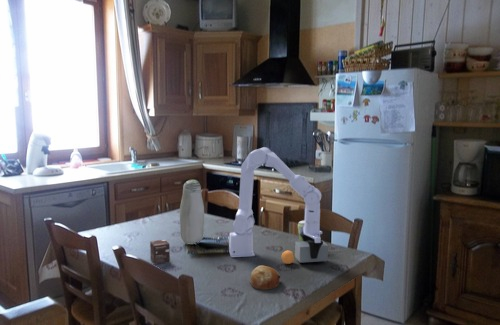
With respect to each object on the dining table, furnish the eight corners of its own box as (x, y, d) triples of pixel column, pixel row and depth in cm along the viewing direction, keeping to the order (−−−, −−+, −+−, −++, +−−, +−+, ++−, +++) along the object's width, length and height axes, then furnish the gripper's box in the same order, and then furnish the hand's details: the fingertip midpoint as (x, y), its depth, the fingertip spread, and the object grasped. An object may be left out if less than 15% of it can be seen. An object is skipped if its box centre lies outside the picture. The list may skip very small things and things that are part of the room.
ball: (283, 266, 152) (283, 253, 152) (279, 261, 157) (280, 248, 156) (296, 265, 153) (296, 252, 152) (292, 260, 158) (292, 248, 157)
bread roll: (253, 287, 142) (244, 268, 141) (280, 275, 143) (270, 255, 141) (256, 300, 133) (246, 280, 131) (284, 287, 133) (274, 266, 132)
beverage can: (314, 251, 168) (315, 223, 166) (296, 250, 170) (297, 222, 168) (314, 246, 174) (315, 219, 173) (297, 245, 176) (298, 218, 174)
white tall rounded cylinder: (202, 247, 171) (202, 182, 168) (178, 247, 171) (177, 182, 168) (205, 240, 181) (205, 178, 177) (182, 239, 181) (181, 178, 177)
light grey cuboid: (299, 262, 153) (300, 247, 152) (294, 256, 159) (295, 241, 158) (327, 260, 154) (328, 245, 154) (321, 255, 161) (322, 240, 160)
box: (154, 264, 152) (153, 246, 151) (150, 259, 158) (149, 241, 157) (170, 262, 155) (169, 243, 154) (165, 257, 160) (165, 239, 159)
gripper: (329, 225, 148) (327, 261, 150) (315, 215, 162) (314, 248, 164) (310, 226, 147) (309, 262, 149) (298, 215, 161) (297, 248, 163)
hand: (310, 255), depth 156 cm, fingers closed on light grey cuboid, 6 cm apart
